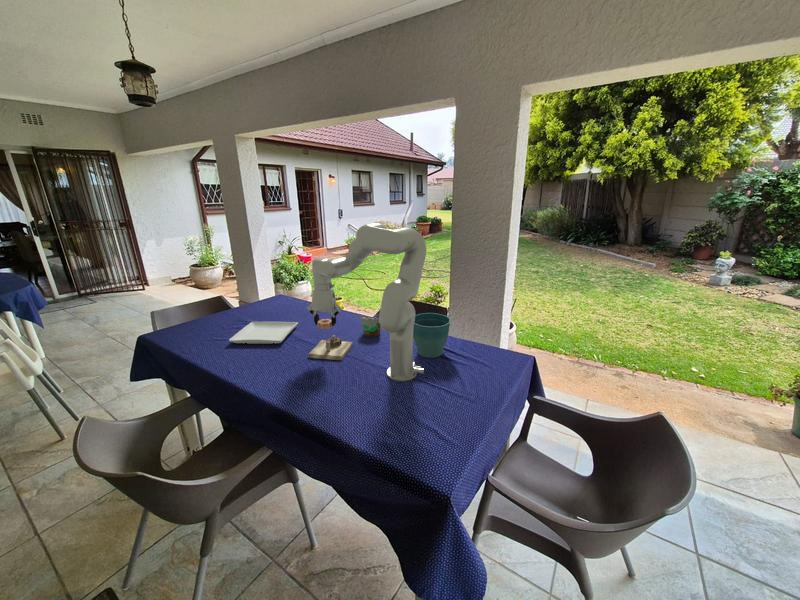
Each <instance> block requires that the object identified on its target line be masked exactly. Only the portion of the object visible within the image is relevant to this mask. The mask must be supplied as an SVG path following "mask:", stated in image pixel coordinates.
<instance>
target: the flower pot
mask: <svg viewBox="0 0 800 600" xmlns="http://www.w3.org/2000/svg"><path fill="white" fill-rule="evenodd" d="M450 324H451V318H450V317H449V316H447V315H445V314H443V313H442V314H440V313H435V312H425V313H418V314H415V323H414V332H413V342H414V343H415V346H416V348H417V350H416V351H417V353H418V355H419V356H421V357H423V358H429V359H430V358H431V359H433V358H438V357H440V356H442V355H443V353H444V348H445V345H446V344H447V340H448V338H449V331H450Z"/></svg>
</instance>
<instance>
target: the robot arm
mask: <svg viewBox="0 0 800 600" xmlns="http://www.w3.org/2000/svg"><path fill="white" fill-rule="evenodd" d="M348 248H349V251H348V252H347V253H346V254H345V255H343V256H341V257H338V258H335V259H331V260H329V258H325V257H317V258H313V260H312V262H311V267H312V278H313V289H312V295H311V303H310V304H309V305H308V306H306V309H307V311H309V313H310V314H312V316H313V322H314V323H315V324H314V325H315V326H318V325H317V323H318V321H319V320H320V316H319V312H321V313H329V314H330V315H331V319H330V320H331V322H332V326H333V327H334V326H335V325H336V324H337V315H338V314H339V313H340V312H341V311H342V310H343V308H342V307H341V306H340V305H339V304H338V303H337V298H336V293H335V289H334V288H335V284H333V282H332V280H333V279H336V278H339V277H342V276H346V275H348V274H350V273H351V272H353V271H354V270H355V269H357V268H358V267H359V266H361V264H362V263H363V262H364V261H365V259H367V257H369V256H370V255H371V254H373V253H374V252H379V253H383V254H388V255H400V254H403V253H404V256H403V258H402V260H401V262H400V265H399V271H398V275H397V278H396V279H395V280H392V281H390V282H389V283H388V284H387V285H386V287H385V288H384V291H383V295H382V298H381V304H380V309H379V315H378V319H379V323H380V329H382V330H383V331H384V332H385V333H389V364H390V365H389V366H390V367H388V368H387V370H386V376H387V377H388V378H389V379H390V380H393V381H395V382H407V381H411V380H413V379H414V378H416V376H417V375H418V374H424V368H422V366H421V365H416V364H415V363H416V362H415V361H414V337H413V332H414V323H415V315H416V310H415V309H416V308H415V307H414V305H413V304H412V303H411V301H412V300H414V299H415V298H416V297H417V295H418V291H419V288H420V284H421V280H422V276H423V275H422V274H423V270H424V265H425V261H426V257H427V244H426V241H425V238H424V237H423V235H422V234H421V233H420V232H419V231H418V230H416V229H415V228H411V227H402V228H398V229H388V227H386V225H384V224H383V223H379V222H378V223H377V222H375V223H369V224H364V225H362V226H360V227H359V228H358V229H357V230H356V234H355V238H354V239H353V240H352V241H351V242H349V245H348Z"/></svg>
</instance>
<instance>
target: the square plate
mask: <svg viewBox="0 0 800 600" xmlns="http://www.w3.org/2000/svg"><path fill="white" fill-rule="evenodd" d="M298 325H299V322H298V321H250V323H248V324H247V325H245V326H244V327H243V328H241V329H240V330H239V331H238V332H236V333H235V334H234V335H233V336H231V337H230V338H229V339H228V341H229V342H231V343H235V344H245V343H247V344H246V345H248V344H249V345H250V344H255V345H256V344H259V345H260V344H261V345H264V344H265V345H266V344H267V345H268V344H269V345H273V343H274V344H281V343H282V342H283V341H284V340H285V339H286V338H287V336H289V335H290V334H291V332H292V331H293V330H294V329H295V328H296V327H297V326H298Z"/></svg>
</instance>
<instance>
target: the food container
mask: <svg viewBox="0 0 800 600" xmlns="http://www.w3.org/2000/svg"><path fill="white" fill-rule="evenodd" d="M360 322H361V323H362V324H361V325H362V331H363V335H364V336H365V337H367V338H376V337H379V336H381V326H380V323H379V318H375V317H371V316H364V314H362V315H361V317H360Z"/></svg>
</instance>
